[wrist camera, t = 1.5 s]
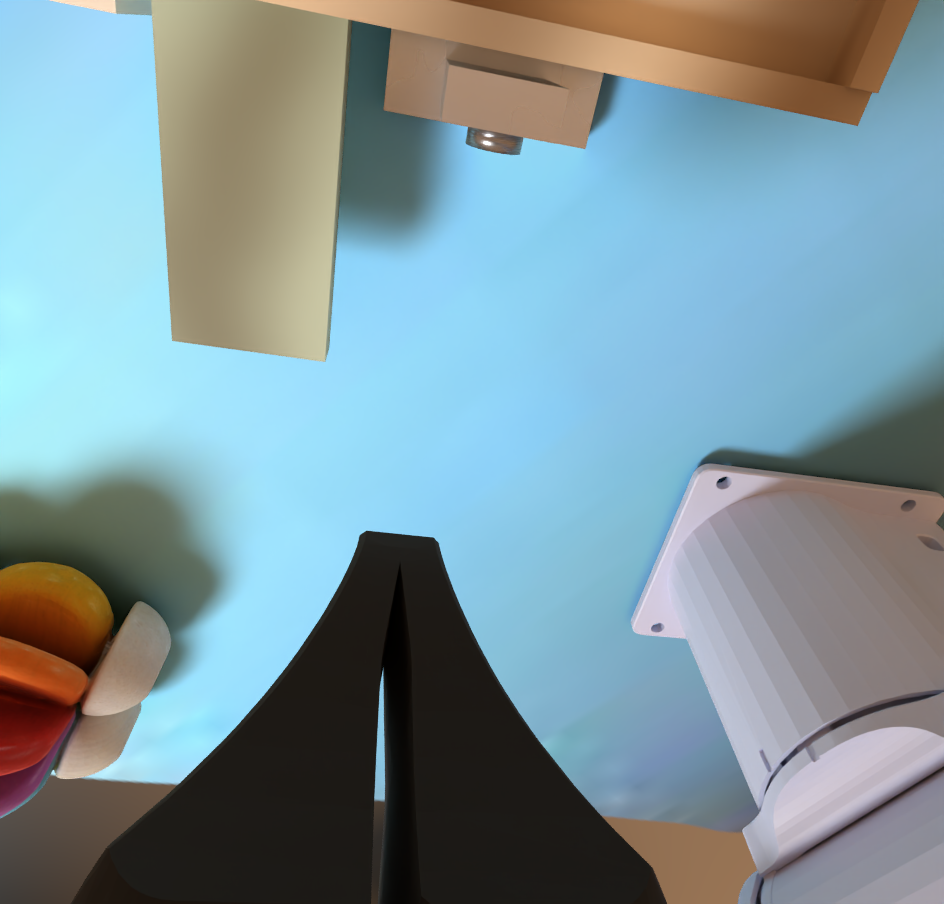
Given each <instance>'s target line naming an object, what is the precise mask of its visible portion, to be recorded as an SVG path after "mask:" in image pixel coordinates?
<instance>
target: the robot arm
mask: <svg viewBox="0 0 944 904" xmlns="http://www.w3.org/2000/svg"><path fill="white" fill-rule="evenodd" d="M722 477H727V478H726V479H725V480H724V481H723V482H720V483H717V481H718V480H719V479H720V478H722ZM906 501H907V502H906ZM904 502H906V503H904ZM903 503H904V504H903ZM943 512H944V497H943V496H941V495H940V494H939V493H937V492H932V491H924V490H916V489H909V488H901V487H893V486H885V485H877V484H869V483H861V482H853V481H846V480H838V479H830V478H822V477H814V476H806V475H798V474H790V473H783V472H775V471H767V470H759V469H751V468H743V467H735V466H727V465H720V464H704V465H702V466H700V467H698V468H697V469H696V470H695V472H694V473H693V475H692V477H691V480H690V482H689V484H688V487H687V489H686V491H685V494H684V496H683V498H682V501H681V503H680V505H679V508H678V510H677V513H676V515H675V517H674V520H673V522H672V524H671V527H670V529H669V531H668V534H667V536H666V538H665V541H664V543H663V546H662V548H661V550H660V553H659V555H658V557H657V560H656V562H655V564H654V567H653V569H652V571H651V574H650V576H649V579H648V581H647V583H646V586H645V588H644V590H643V593H642V595H641V597H640V600H639V602H638V604H637V607H636V609H635V612H634V614H633V616H632V619H631V625H632V628H633V630H634V632H636V633H637V634H641V635H651V636H662V637H674V638H685V639H687V641H688V643H689V645H690V648H691V650H692V652H693V655H694V657H695V660H696V662H697V664H698V667H699V669H700V671H701V674H702V676H703V679H704V681H705V683H706V686H707V688H708V690H709V693H710V695H711V698H712V700H713V702H714V705H715V707H716V709H717V712H718V714H719V716H720V719H721V721H722V724H723V726H724V728H725V731H726V733H727V735H728V738H729V740H730V743H731V745H732V747H733V750H734V752H735V754H736V757H737V759H738V762H739V764H740V766H741V769H742V771H743V773H744V776H745V778H746V781H747V783H748V785H749V788H750V790H751V792H752V795H753V797H754V800H755V802H756V804H757V807H758V809H759V811H760V813H759V814H758V816H757V817H756V818H755V819H754V820H753V821H752V822H751V823H750V824H748V825H747V826H746V827H744V829H743V830H742V832H743V834H744V837H745V839H746V842H747V844H748V847H749V850H750V852H751V855H752V857H753V860H754V862H755V865H756V867H757V870H758V871H756V872H754V873H753V874H752V875H751V876H750V877H749V878H748V879H747V880H746V882H745V883H744V885H743V887H742V890H741V892H740V894H739V900H738V904H944V530H943V529H942V528H941V527H940V526H939V525H938V524H936V522H937V521H938V519H939V518H940V517H941V515H942V514H943ZM656 623H659V624H657V625H654V624H656ZM382 671H383V677H384V738H385V815H384V827H383V841H382V856H381V870H380V883H379V896H378V904H667V902H666V900H665V897H664V895H663V892H662V890H661V887H660V885H659V882H658V880H657V878H656V875H655V873H654V870H653V868H652V867H651V866H650V865H649V864H648V863H647V862H646V861H645V860H644V859H643V858H642V857H641V856H640V855H639V854H638V853H637V852H636V851H635V850H634V849H633V848H632V847H631V846H630V845H629V844H628V843H627V842H626V841H625V840H624V839H623V838H622V837H621V836H620V835H619V834H618V833H617V832H616V831H615V830H614V829H613V828H612V827H611V826H610V825H609V824H608V823H607V822H606V821H605V819H604V818H603V817H602V816H601V815H600V814H599V813H598V812H597V811H596V810H595V808H594V807H593V806H592V805H591V804H590V803H589V802H588V801H587V799H586V798H585V797H584V796H583V795H582V794H581V793H580V791H579V790H578V789H577V788H576V787H575V786H574V785H573V783H572V782H571V781H570V780H569V778H568V777H567V776H566V775H565V773H564V772H563V771H562V769H561V768H560V767H559V766H558V764H557V763H556V762H555V761H554V759H553V758H552V757H551V756H550V754H549V753H548V752H547V751H546V749H545V748H544V747H543V746H542V744H541V743H540V742H539V740H538V739H537V738H536V736H535V735H534V734H533V732H532V731H531V729H530V728H529V726H528V725H527V724H526V722H525V721H524V719H523V718H522V716H521V715H520V714H519V712H518V711H517V709H516V707H515V706H514V704H513V703H512V701H511V700H510V698H509V697H508V695H507V694H506V692H505V690H504V689H503V687H502V685H501V684H500V682H499V681H498V679H497V677H496V675H495V674H494V672H493V670H492V668H491V667H490V665H489V663H488V661H487V659H486V657H485V656H484V654H483V652H482V650H481V648H480V646H479V644H478V642H477V640H476V638H475V636H474V634H473V632H472V630H471V628H470V626H469V624H468V622H467V619H466V617H465V615H464V613H463V611H462V609H461V606H460V604H459V602H458V599H457V597H456V595H455V592H454V590H453V587H452V584H451V582H450V579H449V577H448V574H447V571H446V568H445V565H444V562H443V558H442V555H441V551H440V547H439V543H438V542H437V541H436V540H435V539H434V538H432V537H422V536H412V535H402V534H393V533H383V532H373V531H366V532H364V533H362V534H361V535H360V537H359V541H358V545H357V548H356V550H355V553H354V556H353V558H352V561H351V563H350V565H349V567H348V569H347V571H346V573H345V576H344V578H343V580H342V582H341V583H340V585H339V587H338V589H337V591H336V592H335V594H334V596H333V598H332V599H331V601H330V603H329V605H328V606H327V608H326V610H325V612H324V613H323V615H322V616H321V618H320V620H319V621H318V623H317V624H316V626H315V627H314V629H313V630H312V632H311V633H310V635H309V636H308V637H307V639H306V640H305V642H304V643H303V645H302V646H301V648H300V649H299V651H298V652H297V654H296V655H295V656H294V658H293V659H292V660H291V662H290V663H289V664H288V666H287V667H286V668H285V670H284V671H283V672H282V674H281V675H280V676H279V677H278V679H277V680H276V681H275V682H274V684H273V685H272V686H271V687H270V689H269V690H268V691H267V692H266V693H265V695H264V696H263V697H262V698H261V699H260V700H259V702H258V703H257V704H256V705H255V706H254V707H253V708H252V710H251V711H250V712H249V713H248V714H247V715H246V716H245V718H244V719H243V720H242V721H241V722H240V723H239V724H238V725H237V726H236V728H235V729H234V730H233V731H232V732H231V733H230V734H229V735H228V736H227V737H226V738H225V739H224V740H223V741H222V742H221V743H220V744H219V745H218V746H217V747H216V748H215V749H214V750H213V751H212V752H211V753H210V754H209V755H208V756H207V757H206V758H205V759H204V760H203V761H202V762H201V763H200V764H199V765H198V766H197V767H196V768H195V769H194V770H193V771H192V772H191V773H190V774H189V775H188V776H187V777H186V778H185V779H184V780H183V781H182V782H181V783H180V784H179V785H177V786H176V787H175V788H174V789H173V790H172V791H171V792H170V793H169V794H168V795H167V796H166V797H164V798H163V799H162V800H161V801H160V802H158V803H157V804H156V805H155V806H154V807H153V808H152V809H150V810H149V811H148V812H147V813H146V814H144V815H143V816H142V817H141V818H140V819H139V820H137V821H136V822H135V823H134V824H133V825H132V826H131V827H129V828H128V829H127V830H126V831H125V832H124V833H122V834H121V835H120V836H119V837H118V838H117V839H115V840H114V841H113V842H112V843H111V844H110V845H109V846H108V847H107V848H106V849H105V851H104V852H103V854H102V855H101V857H100V858H99V860H98V861H97V863H96V864H95V866H94V867H93V869H92V870H91V872H90V873H89V875H88V876H87V878H86V879H85V881H84V883H83V885H82V886H81V888H80V889H79V891H78V893H77V894H76V896H75V898H74V899H73V901H72V903H71V904H371V882H372V847H373V817H374V792H375V769H376V747H377V728H378V708H379V691H380V682H381V677H382Z"/></svg>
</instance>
